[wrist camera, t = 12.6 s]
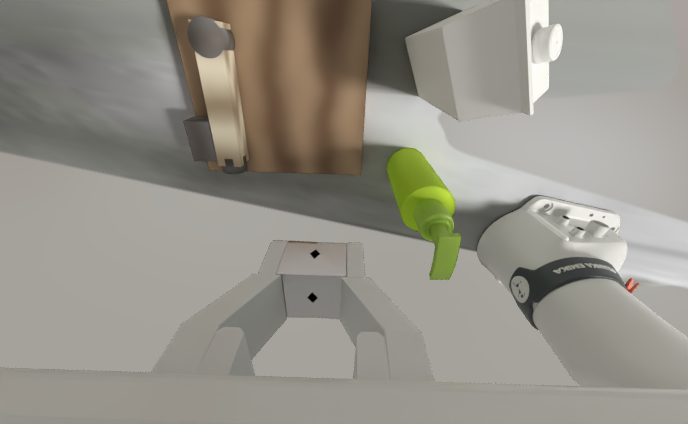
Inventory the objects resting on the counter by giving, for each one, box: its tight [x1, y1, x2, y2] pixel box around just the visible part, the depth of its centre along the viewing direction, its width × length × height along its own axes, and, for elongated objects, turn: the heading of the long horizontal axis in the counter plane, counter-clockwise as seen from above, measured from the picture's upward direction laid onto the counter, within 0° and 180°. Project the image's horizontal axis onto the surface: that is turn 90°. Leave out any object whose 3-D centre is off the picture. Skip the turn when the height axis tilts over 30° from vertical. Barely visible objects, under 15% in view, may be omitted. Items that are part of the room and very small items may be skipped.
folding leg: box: [187, 16, 249, 174], centre depth 32 cm, size 17×4×3 cm, turn 177°
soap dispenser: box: [387, 148, 461, 280], centre depth 32 cm, size 6×7×20 cm
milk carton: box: [405, 0, 563, 122], centre depth 24 cm, size 7×7×19 cm
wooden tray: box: [167, 0, 372, 175], centre depth 33 cm, size 22×20×6 cm
